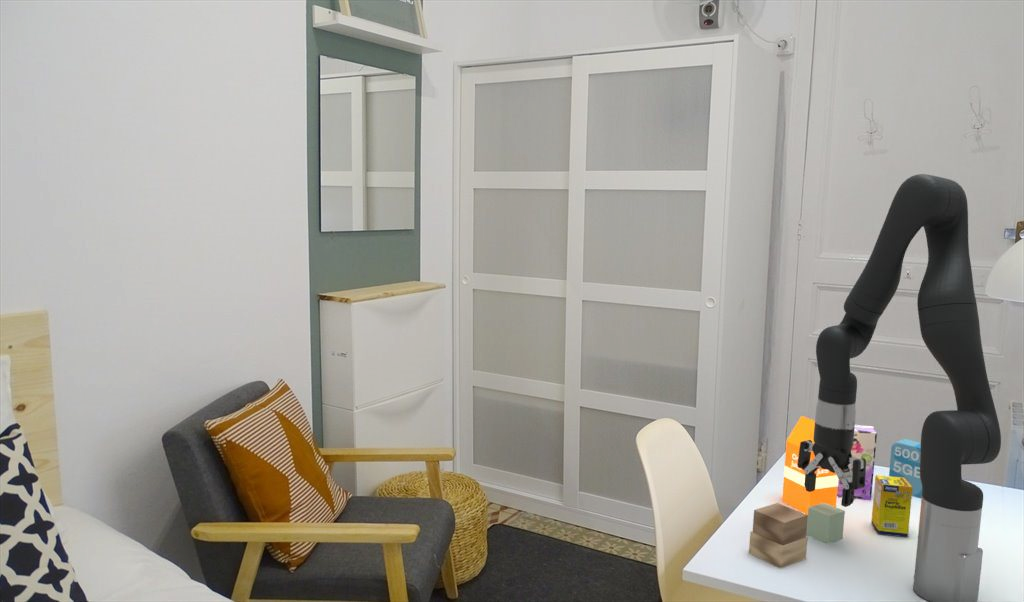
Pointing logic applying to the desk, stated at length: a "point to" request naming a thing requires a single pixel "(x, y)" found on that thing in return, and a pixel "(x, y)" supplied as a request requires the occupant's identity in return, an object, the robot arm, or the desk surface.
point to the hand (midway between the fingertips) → (827, 498)
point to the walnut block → (780, 523)
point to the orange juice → (796, 476)
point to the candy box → (864, 449)
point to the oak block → (777, 550)
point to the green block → (825, 523)
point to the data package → (907, 463)
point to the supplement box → (891, 505)
